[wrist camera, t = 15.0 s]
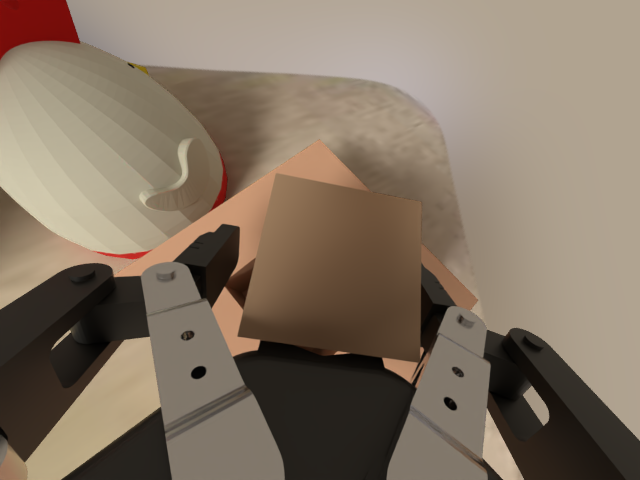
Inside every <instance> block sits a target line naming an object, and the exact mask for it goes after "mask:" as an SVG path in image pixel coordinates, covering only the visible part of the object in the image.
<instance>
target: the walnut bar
mask: <svg viewBox="0 0 640 480" xmlns="http://www.w3.org/2000/svg"><path fill="white" fill-rule="evenodd" d="M421 237H422V202H420V201H415V200H410V199H405V198H400V197H395V196H390V195H385V194H380V193H375V192H370V191H365V190H360V189H354V188H349V187H344V186H339V185H334V184H329V183H324V182H319V181H314V180H309V179H304V178H299V177H294V176H289V175H284V174H279V173H276V175H275V179H274V184H273V188H272V192H271V196H270V200H269V205H268V209H267V213H266V217H265V221H264V226H263V230H262V234H261V238H260V242H259V247H258V251H257V255H256V259H255V263H254V268H253V272H252V276H251V280H250V284H249V289H248V293H247V297H246V301H245V305H244V310H243V314H242V318H241V322H240V326H239V331H238V335H237V337H243V338H250V339H257V340H264V341H271V342H278V343H285V344H292V345H298V346H305V347H312V348H319V349H326V350H333V351H340V352H347V353H354V354H361V355H368V356H375V357H382V358H388V359H395V360H402V361H409V362H416V363H420V333H421Z"/></svg>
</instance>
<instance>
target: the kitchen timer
mask: <svg viewBox="0 0 640 480" xmlns="http://www.w3.org/2000/svg"><path fill="white" fill-rule="evenodd" d="M0 187H1V188H2V189H3V190H4V191H5V192H6V193H8V194H9V195H10V196H11V197H12V198H13V199H14V200H15V201H16V202H17V203H18V204H19V205H20V206H21V207H23V208H24V209H25V210H26V211H27V212H28V213H30V214H31V215H32V216H33V217H34V218H36V219H37V220H38V221H39V222H40V223H42V224H43V225H44V226H45V227H47V228H48V229H49V230H51V231H52V232H54V233H56V234H57V235H59V236H61V237H63V238H65V239H67V240H69V241H71V242H73V243H76V244H78V245H80V246H82V247H84V248H87V249H89V250H91V251H94V252H97V253H100V254H103V255H106V256H113V257H120V258H127V259H137V258H141V257H143V256H144V255H146V254H147V253H149V252H150V251H152V250H153V249H155V248H156V247H158V246H159V245H161V244H162V243H164V242H165V241H167V240H168V239H170V238H171V237H173V236H174V235H176V234H177V233H179V232H180V231H182V230H183V229H185V228H186V227H188V226H189V225H191V224H192V223H194V222H195V221H197V220H198V219H200V218H201V217H203V216H204V215H206V214H207V213H209V212H211V211H212V210H214V209H215V208H217V207H218V206H220V205H221V204H223V202H224V200H225V198H226V189H227V175H226V170H225V166H224V162H223V159H222V157H221V155H220V152H219V150H218V149H217V147H216V145H215V144H214V142H213V141H212V139H211V138H210V136H209V134H208V133H207V131H206V130H205V129H204V127H203V126H202V124H201V123H200V122H199V121H198V120H197V119H196V118H195V117H194V116H193V115H192V114H191V113H190V112H189V111H188V110H187V109H186V108H185V107H184V106H183V105H182V104H181V103H180V102H179V101H178V100H177V99H176V98H175V97H174V96H173V95H172V94H171V93H169V92H168V91H167V90H166V89H164V88H163V87H162V86H161V85H160V84H158V83H157V82H156V81H155V80H153V79H152V78H151V77H150V76H149V75H148V72H147V70H146V68H145V67H143V66H140V65H136V64H133V63H129V62H126V61H124V60H122V59H120V58H118V57H116V56H114V55H111V54H109V53H107V52H105V51H103V50H100V49H98V48H96V47H94V46H91V45H89V44H86V43H83V42H81V41H79V38H78V35H77V32H76V29H75V26H74V23H73V20H72V17H71V14H70V11H69V8H68V5H67V2H66V0H0Z"/></svg>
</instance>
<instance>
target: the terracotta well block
mask: <svg viewBox="0 0 640 480" xmlns="http://www.w3.org/2000/svg"><path fill="white" fill-rule="evenodd" d="M276 173H279V174H284V175H289V176H294V177H299V178H304V179H309V180H314V181H319V182H324V183H329V184H334V185H339V186H344V187H349V188H354V189H360V190H365V191H370V190H369V189H368V188H367V187H366V186H365V185H364V184H363V183H362V182H361V181H360V180H359V179H358V178H357V177H356V176H355V175H354V174H353V173H352V172H351V171H350V170H349V169H348V168H347V167H346V166H345V165H344V164H343V163H342V162H341V161H340V160H339V159H338V158H337V157H336V156H335V155H334V154H333V153H332V152H331V151H330V150H329V149H328V148H327V147H326V145H325V144H324V143H323V142H322V141H321V140H320V139H319V140H318V141H316V142H315V143H313V144H312V145H310V146H309V147H307V148H306V149H304V150H303V151H301V152H300V153H298V154H297V155H295V156H294V157H292V158H291V159H289V160H288V161H286V162H285V163H283V164H281V165H280V166H278V167H277V168H275V169H274V170H272V171H271V172H269V173H268V174H266V175H265V176H263V177H262V178H260V179H259V180H257V181H256V182H254V183H253V184H251V185H250V186H248V187H247V188H245V189H244V190H242V191H241V192H239V193H238V194H236V195H235V196H233V197H232V198H230V199H229V200H227V201H226V202H224V203H223V204H221V205H220V206H218V207H217V208H215V209H214V210H212V211H211V212H209V213H207V214H206V215H204V216H203V217H201V218H200V219H198V220H197V221H195V222H194V223H192V224H191V225H189V226H188V227H186V228H185V229H183V230H182V231H180V232H179V233H177V234H176V235H174V236H173V237H171V238H170V239H168V240H167V241H165V242H164V243H162V244H161V245H159V246H158V247H156V248H155V249H153V250H152V251H150V252H149V253H147V254H146V255H144V256H143V257H141V258H140V259H138V260H137V261H135V262H133V263H132V264H130V265H129V266H127V267H126V268H124V269H123V270H121V271H120V272H118V273H117V274H115V275H114V277H124V276H141V275H142V273H143V272H144V271H145V270H146V269H147V268H149V267H151V266H153V265H155V264H159V263H164V262H172V261H174V260H175V259H176V258H177V257H178V256H179V255H180V254H181V253H182V252H183V251H184V250H185V249H186V248H187V247H189V245H190V244H191V243H193V242H194V241H195V240H196V239H197V238H198V237H199V236H200V235H202V234H205V233H207V232H215V231H216V230H217V229H218V228H219V227H220V226H221V225H222V224H228V225H234V226H239V227H240V244H239V259H238V263H237V266H236V268H235V270H234V271H233V273H232V275H231V277H230V278H229V280H228V282H227V283H226V285H225V287H224V289H223V290H222V292H221V294H220V295H219V297H218V299H217V301H216V302H215V304H214V306H213V307H212V311H213V313H214V316H215V318H216V320H217V323H218V325H219V327H220V329H221V332H222V334H223V336H224V339H225V341H226V343H227V345H228V348H229V350H230V352H231V355H232V357H233V356H235V355H238V354H241V353H244V352H249V351H254V350H258V347H259V344H260V340H257V339H250V338H243V337H237V335H238V331H239V326H240V322H241V318H242V314H243V310H244V305H245V301H246V297H247V293H248V289H249V284H250V280H251V276H252V272H253V268H254V263H255V259H256V255H257V251H258V247H259V242H260V238H261V234H262V230H263V226H264V221H265V217H266V213H267V209H268V205H269V200H270V196H271V192H272V188H273V184H274V179H275V175H276ZM370 192H371V191H370ZM421 262H422V264H423V265H424V267H425V268H426V269H428V270H429V271H430V272H431V273H433V274H434V275H435V276H436V278H437V279H438V280H439V282H440V284H441V285H442V286H443V287H444V290H446V291H447V293H448V294H449V296H450V297H451V298H452V300H453V301H454V303H455V304H456V305H457V307H462V308H464V309H467V310H469V311H470V310H471V309H472V307H473V306H474V305H475V304H476V302H477V301H478V299H477V298H476V297H475V296H474V295H473V294H472V293H471V292H470V291H469V290H468V289H467V288H466V287H465V286H464V285H463V284H462V283H461V282H460V281H459V280H458V279H457V278H456V277H455V276H454V275H453V274H452V273H451V272H450V271H449V270H448V269H447V268H446V267H445V266H444V265H443V264H442V263H441V262H440V261H439V260H438V259H437V258H436V257H435V256H434V255H433V254H432V253H431V252H430V251H429V250H428V249H427V248H426V247H425V246H424V245H423V244H422V243H421ZM295 346H297V347H300V348H302V349H305V350H308V351H310V352H313V353H316V354H318V355H322V356H327V355H336V354H346V353H347V352H340V351H333V350H326V349H319V348H312V347H305V346H298V345H295ZM423 351H424V349H423V347H420V357H421V355H422V353H423ZM382 359H383V363H384V367H385V368H387V369H389V370H391V371H393V372H395V373H397V374H398V375H400V376H402V377H403V378H404V379H406V380H407V381H408V382H409V381H410V379H411V376H412V374H413V372H414V370H415V368H416V365H417V363H416V362H409V361H402V360H395V359H388V358H382Z"/></svg>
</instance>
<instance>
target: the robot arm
mask: <svg viewBox="0 0 640 480" xmlns="http://www.w3.org/2000/svg"><path fill="white" fill-rule="evenodd" d="M239 244H240V227H239V226H234V225H228V224H222V225H221V226H220V227H219V228H218V229H217V230H216V231H215V232H207V233H205V234H202V235H200V236H199V237H198V238H197V239H196V240H195V241H194V242H193V243H191V244H190V245H189V247H187V248H186V249H185V250H184V251H183V252H182V253H181V254H180V255H179V256H178V257H177V258H176V259H175V260H174V261H172V262H164V263H159V264H155V265H153V266H151V267H149V268H147V269H146V270H145V271H144V272H143V273H142V275H141V276H124V277H114V274H113V270H112V268H111V267H110V266H108V265H105V264H99V263H90V264H82V265H77V266H74V267H70V268H67V269H65V270H63V271H61V272H59V273H57V274H56V275H54V276H53V277H51V278H49V279H48V280H46V281H45V282H43V283H42V284H40V285H38V286H37V287H35V288H34V289H32V290H31V291H29V292H27V293H26V294H24V295H23V296H21V297H20V298H18V299H16V300H15V301H13V302H12V303H10V304H9V305H7V306H5V307H4V308H2V309H1V310H0V480H27V474H28V471H27V466H26V464H25V462H26V460H27V459H28V458H29V457H30V455H31V454H32V453H33V452H34V451H35V449H36V448H37V447H38V446H39V444H40V443H41V442H42V441H43V439H44V438H45V437H46V436H47V435H48V433H49V432H50V431H51V430H52V428H53V427H54V426H55V425H56V423H57V422H58V421H59V420H60V418H61V417H62V416H63V415H64V414H65V412H66V411H67V410H68V409H69V407H70V406H71V405H72V404H73V402H74V401H75V400H76V399H77V397H78V396H79V395H80V394H81V393H82V391H83V390H84V389H85V388H86V386H87V385H88V384H89V383H90V381H91V380H92V379H93V378H94V376H95V375H96V374H97V373H98V372H99V370H100V369H101V368H102V367H103V365H104V364H105V363H106V362H107V360H108V359H109V358H110V357H111V356H112V354H113V353H114V352H115V351H116V349H117V348H118V347H119V346H120V344H121V343H122V342H123V341H124V340H126V339H134V338H142V337H150V340H151V346H152V353H153V359H154V365H155V372H156V378H157V384H158V391H159V397H160V403H161V407H160V408H158V409H157V410H156V411H154V412H153V413H152V414H150V415H149V416H147V417H146V418H145V419H143V420H142V421H141V422H139V423H138V424H137V425H135V426H134V427H132V428H131V429H130V430H128V431H127V432H126V433H124V434H123V435H122V436H120V437H119V438H117V439H116V440H115V441H113V442H112V443H111V444H109V445H108V446H107V447H105V448H104V449H102V450H101V451H100V452H98V453H97V454H96V455H94V456H93V457H91V458H90V459H89V460H87V461H86V462H85V463H83V464H82V465H81V466H79V467H78V468H76V469H75V470H74V471H72V472H71V473H70V474H68V475H67V476H66V477H64V478H63V479H61V480H503V479H502V478H501V477H500V476H499V475H498V474H497V473H496V472H495V471H494V470H493V469H492V468H491V467H490V466H489V464H488V463H487V462H486V461H485V460H484V459H483V458H482V453H483V442H484V432H485V421H486V410H487V409H488V411H489V413H490V415H491V417H492V418H493V420H494V422H495V424H496V426H497V428H498V430H499V432H500V434H501V436H502V438H503V440H504V441H505V443H506V445H507V447H508V449H509V451H510V453H511V455H512V457H513V459H514V461H515V463H516V465H517V466H518V468H519V470H520V472H521V474H522V476H523V478H524V480H640V441H639V440H638V439H637V437H636V436H635V435H634V434H633V433H632V432H631V431H630V430H629V429H628V428H627V427H626V426H625V425H624V424H623V423H622V422H621V421H620V420H619V418H618V417H617V416H616V415H615V414H614V413H613V412H612V411H611V410H610V409H609V408H608V407H607V406H606V405H605V404H604V403H603V402H602V400H601V399H600V398H598V396H597V395H596V394H595V393H594V392H593V391H592V390H591V389H590V388H589V387H588V386H587V385H586V384H585V383H584V382H583V380H582V379H581V378H580V377H579V376H578V375H577V374H576V373H575V372H574V371H573V370H572V369H571V368H570V367H569V366H568V365H567V363H565V361H564V360H563V359H562V358H561V357H560V356H559V355H558V354H557V353H556V352H555V351H554V350H553V349H552V348H551V347H550V346H549V345H548V344H547V343H546V342H545V341H543V340H542V339H541V338H539V337H538V336H536V335H534V334H532V333H530V332H528V331H526V330H523V329H519V328H513V329H511V330H510V331H509V332H508V334H507V335H506V336H503V335H500V334H497V333H495V332H492V331H489V330H487V327H486V325H485V323H484V322H483V321H482V320H481V319H480V318H479V317H478V316H477V315H475V314H474V313H472V312H471V311H469V310H467V309H464V308H462V307H457V305H456V304H455V303H454V301H453V300H452V298H451V297H450V296H449V294H448V293H447V291H446V290H444V287H443V286H442V285H441V284H440V282H439V280H438V279H437V278H436V276H435V275H434V274H433V273H431V272H430V271H429V270H428V269H426V268H425V267H424V265H423V264H422V262H421V333H420V347H423V349H424V351H423V353H422V355H421V357H420V363H417V365H416V368H415V370H414V372H413V374H412V376H411V379H410V381H409V382H408V381H407V380H406V379H404V378H403V377H402V376H400V375H398V374H397V373H395V372H393V371H391V370H389V369H387V368H385V367H384V363H383V359H382V357H375V356H368V355H361V354H354V353H346V354H336V355H327V356H322V355H318V354H316V353H313V352H310V351H308V350H305V349H302V348H300V347H297V346H295V345H292V344H285V343H278V342H271V341H264V340H260V344H259V347H258V350H254V351H249V352H244V353H241V354H238V355H235V356H233V357H232V355H231V352H230V350H229V348H228V345H227V343H226V341H225V339H224V336H223V334H222V332H221V329H220V327H219V325H218V323H217V320H216V318H215V316H214V313H213V311H212V307H213V306H214V304H215V302H216V301H217V299H218V297H219V295H220V294H221V292H222V290H223V289H224V287H225V285H226V283H227V282H228V280H229V278H230V277H231V275H232V273H233V271H234V270H235V268H236V266H237V263H238V259H239ZM69 330H71V333H70V334H69V335H68V336H67V337H65V338H64V339H63V340H62V341H61V342H60V343H59V344H58V345H57V346H56V347H55V348H54V349H52V347H53V346H54V344H55V343H56V342H57V341H58V340H59V339H60V338H61V337H62V336H63V335H64V334H65V333H66V332H67V331H69ZM51 349H52V350H51ZM531 386H533V387H534V389H535V390H536V392H537V393H538V394H539V396H540V397H541V398H542V400H543V401H544V402H545V404H546V406H547V408H548V410H549V421H548V423H547V424H545V425H544V426H543V425H542V423H541V422H540V420H539V419H538V417H537V416H536V414H535V413H534V411H533V410H532V408H531V407H530V405H529V404H528V402H527V401H526V400H525V398H524V397H523V394H524V393H525V392H526V391H527V390H528V389H529V388H530V387H531Z"/></svg>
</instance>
